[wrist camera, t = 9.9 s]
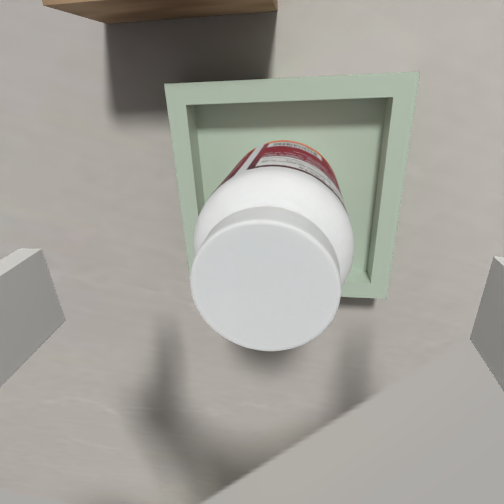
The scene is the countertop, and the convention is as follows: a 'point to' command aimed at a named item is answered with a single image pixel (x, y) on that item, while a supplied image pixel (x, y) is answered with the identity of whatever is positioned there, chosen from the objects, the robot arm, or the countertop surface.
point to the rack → (157, 8)
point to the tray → (312, 134)
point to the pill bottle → (272, 249)
